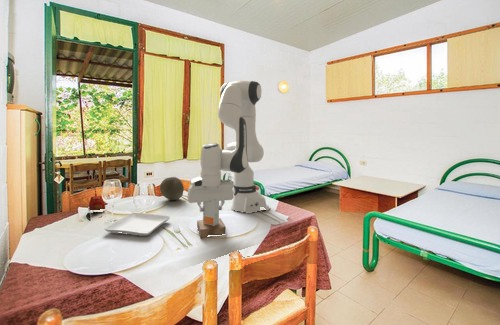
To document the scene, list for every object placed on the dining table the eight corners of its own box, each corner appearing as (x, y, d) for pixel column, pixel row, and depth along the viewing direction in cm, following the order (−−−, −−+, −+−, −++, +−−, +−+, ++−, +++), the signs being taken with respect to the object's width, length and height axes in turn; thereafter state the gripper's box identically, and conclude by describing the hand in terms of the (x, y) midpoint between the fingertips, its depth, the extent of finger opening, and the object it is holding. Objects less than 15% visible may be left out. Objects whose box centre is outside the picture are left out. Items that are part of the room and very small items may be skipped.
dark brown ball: (174, 196, 174) (173, 174, 172) (188, 199, 166) (188, 177, 164) (156, 200, 163) (155, 177, 161) (170, 205, 155) (169, 180, 153)
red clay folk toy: (90, 215, 136) (88, 187, 133) (88, 211, 141) (86, 184, 139) (106, 212, 140) (105, 185, 138) (104, 208, 146) (102, 183, 144)
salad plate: (147, 240, 108) (147, 232, 108) (103, 235, 112) (102, 228, 111) (171, 222, 129) (171, 215, 128) (133, 218, 132) (132, 212, 132)
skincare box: (202, 224, 115) (202, 198, 114) (208, 221, 119) (208, 195, 118) (214, 226, 113) (214, 200, 111) (219, 223, 117) (219, 197, 115)
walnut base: (220, 226, 124) (220, 218, 123) (225, 235, 113) (225, 226, 113) (197, 228, 120) (197, 220, 120) (200, 238, 110) (200, 229, 109)
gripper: (231, 177, 120) (231, 206, 122) (186, 180, 113) (187, 210, 115) (235, 180, 114) (235, 210, 116) (188, 183, 107) (188, 214, 109)
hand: (210, 210), depth 115 cm, fingers closed on skincare box, 7 cm apart
